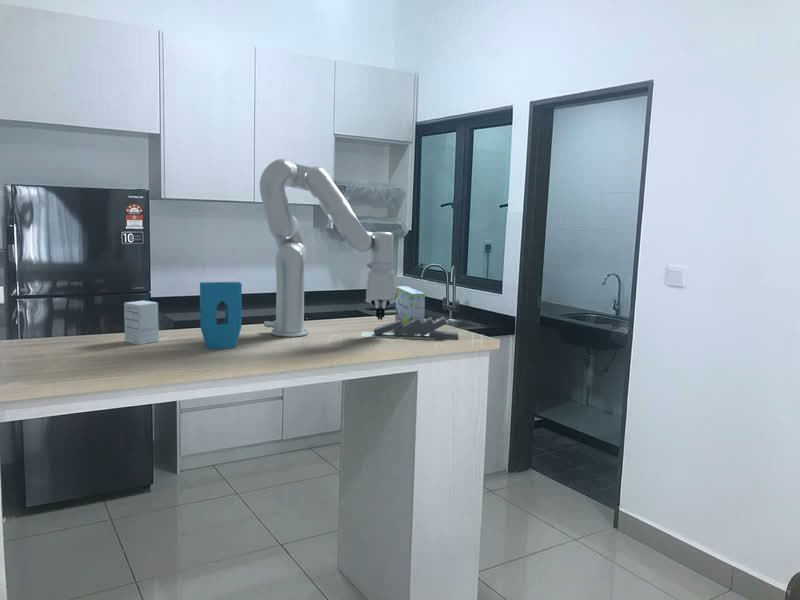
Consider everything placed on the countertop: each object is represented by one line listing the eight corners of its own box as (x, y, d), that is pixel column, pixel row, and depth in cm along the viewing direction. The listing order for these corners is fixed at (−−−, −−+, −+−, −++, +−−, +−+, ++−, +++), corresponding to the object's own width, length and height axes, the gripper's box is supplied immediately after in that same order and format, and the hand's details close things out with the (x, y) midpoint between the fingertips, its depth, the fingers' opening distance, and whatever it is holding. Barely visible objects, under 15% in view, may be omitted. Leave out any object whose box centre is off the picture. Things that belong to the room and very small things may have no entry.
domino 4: (418, 330, 220) (443, 317, 220) (418, 328, 225) (443, 315, 224) (421, 336, 221) (446, 323, 220) (421, 334, 226) (446, 321, 225)
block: (202, 349, 192) (201, 284, 189) (199, 346, 196) (199, 282, 194) (242, 347, 197) (242, 283, 194) (238, 344, 201) (238, 281, 199)
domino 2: (393, 331, 220) (418, 318, 220) (393, 328, 225) (418, 315, 225) (396, 336, 221) (421, 324, 220) (396, 334, 226) (421, 321, 225)
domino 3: (405, 331, 220) (430, 318, 220) (405, 328, 225) (430, 315, 224) (408, 337, 221) (433, 324, 220) (408, 334, 226) (433, 321, 225)
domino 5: (430, 331, 220) (458, 333, 220) (429, 328, 225) (457, 331, 225) (429, 337, 221) (458, 340, 221) (429, 335, 226) (456, 337, 226)
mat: (360, 337, 219) (360, 336, 219) (362, 333, 227) (362, 332, 227) (435, 340, 219) (435, 339, 219) (434, 335, 227) (434, 334, 227)
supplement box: (144, 338, 205) (143, 300, 203) (159, 341, 201) (158, 302, 199) (124, 342, 198) (123, 302, 197) (139, 345, 195) (138, 304, 193)
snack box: (393, 323, 250) (395, 286, 248) (407, 323, 252) (408, 286, 250) (410, 333, 230) (412, 292, 228) (425, 333, 232) (426, 292, 230)
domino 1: (373, 329, 220) (400, 320, 220) (374, 327, 225) (400, 318, 225) (375, 336, 221) (402, 326, 220) (376, 333, 226) (402, 324, 225)
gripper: (359, 267, 216) (358, 320, 219) (403, 269, 216) (401, 321, 219) (361, 265, 224) (359, 316, 226) (403, 267, 224) (401, 318, 226)
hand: (380, 319), depth 222 cm, fingers closed
